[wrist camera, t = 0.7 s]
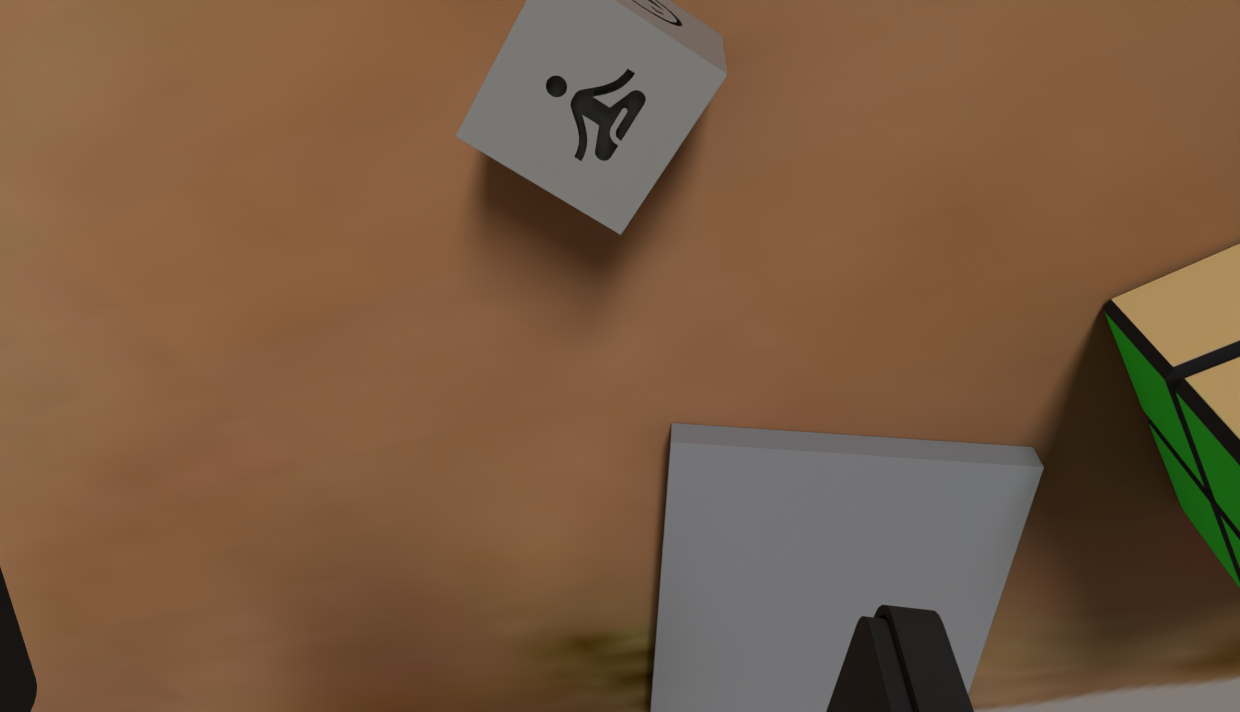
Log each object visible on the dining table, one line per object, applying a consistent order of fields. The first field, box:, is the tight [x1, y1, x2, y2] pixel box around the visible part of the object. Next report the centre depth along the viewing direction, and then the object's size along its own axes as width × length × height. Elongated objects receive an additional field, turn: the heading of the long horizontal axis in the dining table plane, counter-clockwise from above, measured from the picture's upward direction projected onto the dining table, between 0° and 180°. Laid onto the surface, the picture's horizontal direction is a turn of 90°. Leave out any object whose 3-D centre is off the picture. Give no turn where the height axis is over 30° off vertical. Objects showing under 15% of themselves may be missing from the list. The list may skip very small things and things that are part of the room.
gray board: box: [650, 423, 1044, 712], centre depth 36 cm, size 13×15×1 cm
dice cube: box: [456, 0, 727, 235], centre depth 25 cm, size 5×5×5 cm
